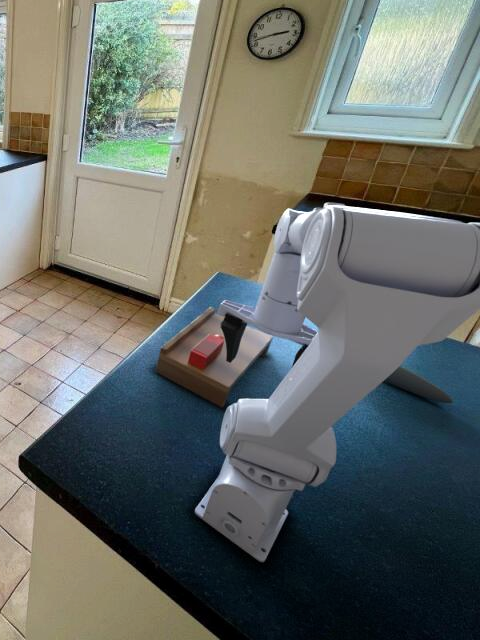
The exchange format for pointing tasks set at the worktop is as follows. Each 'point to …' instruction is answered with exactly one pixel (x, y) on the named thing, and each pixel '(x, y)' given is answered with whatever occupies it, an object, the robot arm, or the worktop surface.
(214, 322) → the shelf
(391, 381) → the paintbrush
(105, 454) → the worktop surface
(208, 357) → the red rectangular prism
